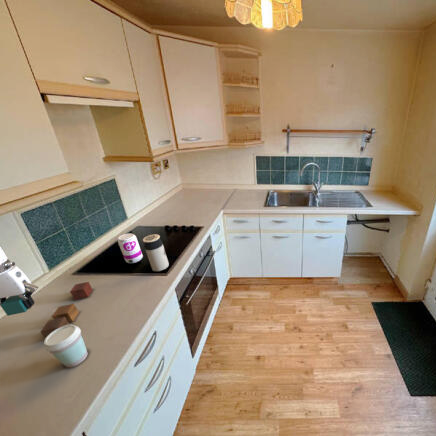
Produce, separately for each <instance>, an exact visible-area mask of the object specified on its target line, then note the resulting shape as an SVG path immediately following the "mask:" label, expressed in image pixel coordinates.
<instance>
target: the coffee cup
mask: <svg viewBox="0 0 436 436" xmlns="http://www.w3.org/2000/svg"><path fill="white" fill-rule="evenodd" d="M43 348H44V351H46V352H49V353H50V354H51V355H53V357H55V358H56V359H57V360H58V361H59V362H60V363H61V364H62V365H64V366H65V367H66V368H73V367H76V366H78V365H80V364H81V363H82V362H84V360H86V359H87V357H88V355H89V354H88V350H87V346H86V343H85V342H84V339H83V336H82V329H81V328H80V327H79V326H77V325H75V324H70V325H65V326H62V327H60V328H58V329H56V330H54V331H53V332H52V333H50V334H49V335H48V336H47V337H46V339H45V338H44V341H43Z"/></svg>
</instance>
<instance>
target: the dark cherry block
mask: <svg viewBox="0 0 436 436" xmlns="http://www.w3.org/2000/svg"><path fill="white" fill-rule="evenodd" d="M92 292H93V287H92V286H91V283H90V282H89V281H85V282H80V283H75V284H74V285H73V286H72V288H71V290H70V291H69V293H70V295H71V296H72V298H73V300H74V301H77V300H82V299H87V298H89V297H90V295H91V293H92Z"/></svg>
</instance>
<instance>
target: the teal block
mask: <svg viewBox="0 0 436 436" xmlns="http://www.w3.org/2000/svg"><path fill="white" fill-rule="evenodd" d="M23 294H24V295H26V294H25V293H23ZM22 301H23V299H21V298H20V297H19V296H18V295H15V296H10V297H7V299H6V300H5V301H4V302H3V303H2V304H1V305H0V308H1V309H2V310H3V312H4V313H5V314H6V315H7V316H8V317H9V316H14V315H18V314H21V313H22V314H23V313H27V311H28V310H29V309H27V308H26V307H25V305H24V304H23V302H22Z"/></svg>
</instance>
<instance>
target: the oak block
mask: <svg viewBox="0 0 436 436" xmlns="http://www.w3.org/2000/svg"><path fill="white" fill-rule="evenodd" d="M79 312H80V311H79V310H78V308H77V307H76V305H75V303H70V304H66V305H61V306H58V307H57V308H56V310H55V311H54V313H53V314H52V315H51V318H52V320H53V319H58V318H62V317H65V318H66V319H67V321H68V323H69V324H71V323H74V322H75V320H76V318H77V316H78V315H79V314H80V313H79Z"/></svg>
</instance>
